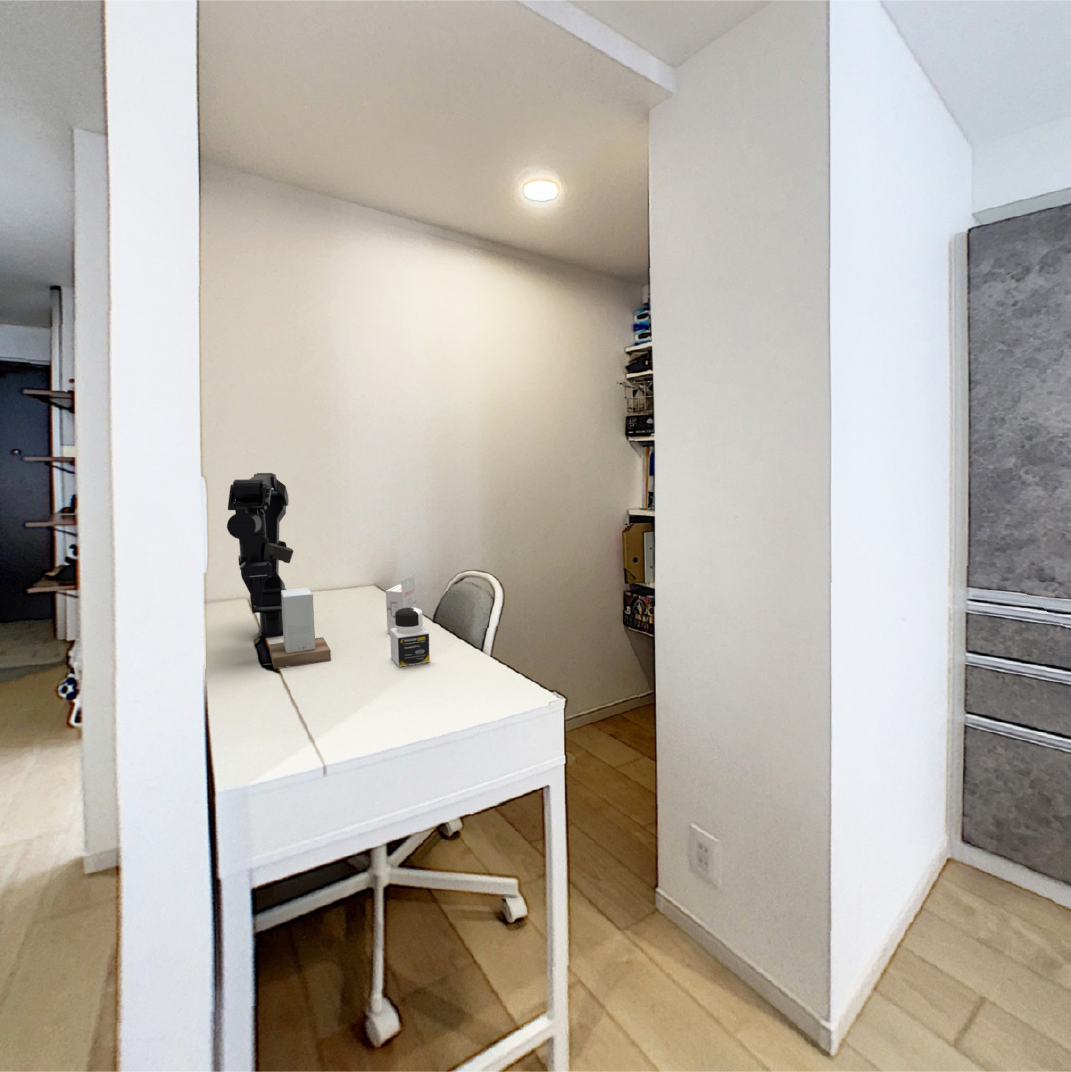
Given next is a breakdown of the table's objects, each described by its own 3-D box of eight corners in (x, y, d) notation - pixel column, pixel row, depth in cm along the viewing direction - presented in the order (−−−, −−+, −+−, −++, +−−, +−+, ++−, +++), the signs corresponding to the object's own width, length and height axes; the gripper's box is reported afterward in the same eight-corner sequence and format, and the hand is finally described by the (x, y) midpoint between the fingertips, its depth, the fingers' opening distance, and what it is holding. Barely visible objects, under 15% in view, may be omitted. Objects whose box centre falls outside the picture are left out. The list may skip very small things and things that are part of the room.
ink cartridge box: (400, 625, 165) (398, 573, 163) (416, 626, 164) (415, 573, 162) (386, 634, 157) (384, 579, 155) (404, 635, 156) (402, 580, 154)
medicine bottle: (398, 667, 132) (397, 614, 130) (390, 658, 138) (389, 607, 136) (430, 662, 135) (428, 611, 133) (420, 653, 141) (419, 604, 140)
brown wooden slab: (270, 654, 140) (269, 644, 140) (323, 647, 146) (323, 637, 146) (274, 669, 131) (273, 658, 130) (331, 660, 136) (330, 649, 136)
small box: (315, 649, 136) (313, 594, 134) (285, 653, 133) (282, 596, 131) (311, 640, 143) (309, 587, 141) (283, 643, 140) (280, 589, 139)
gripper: (294, 536, 133) (298, 604, 135) (285, 527, 150) (289, 588, 152) (239, 539, 128) (243, 610, 130) (236, 530, 145) (240, 593, 147)
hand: (256, 599), depth 140 cm, fingers open, 9 cm apart
